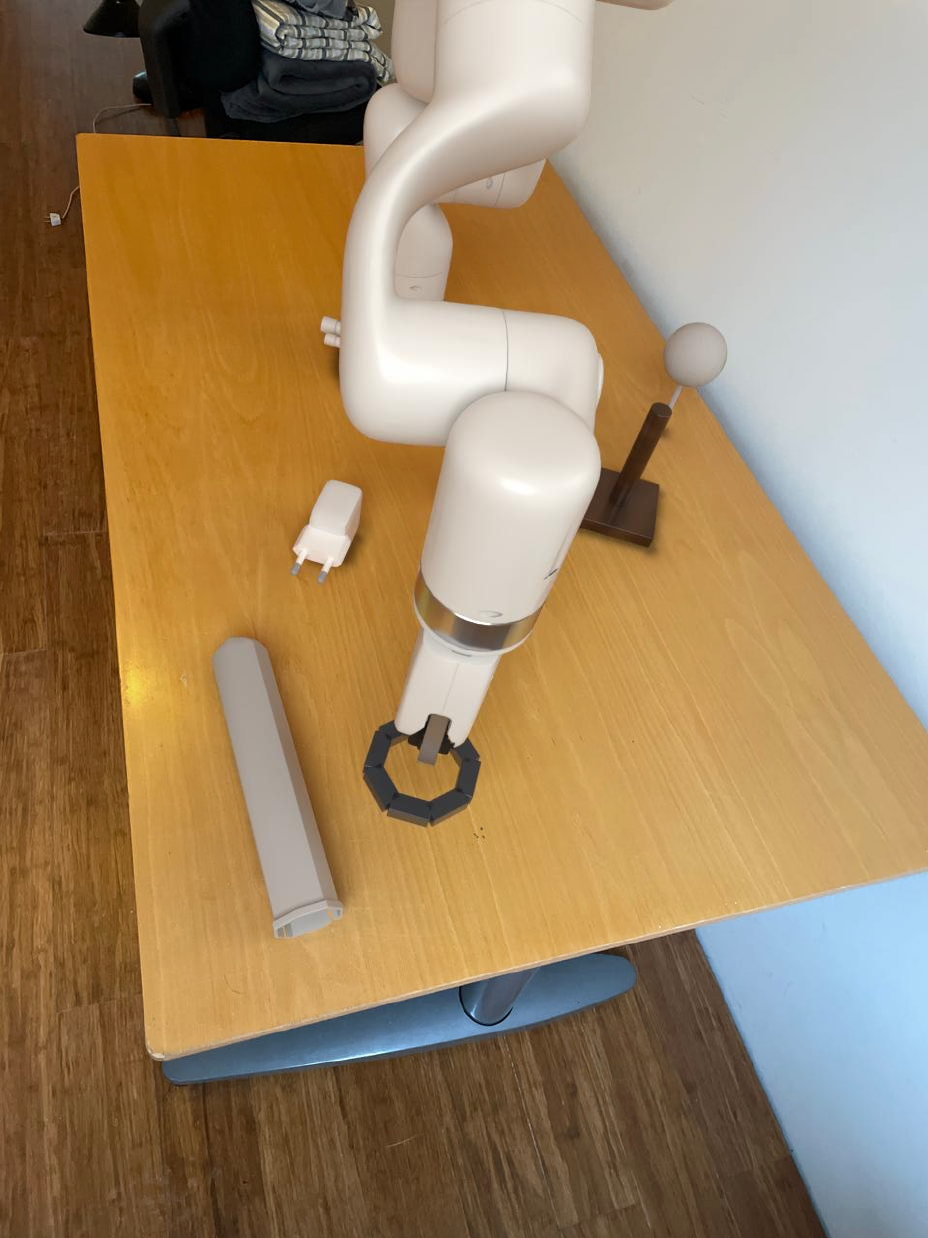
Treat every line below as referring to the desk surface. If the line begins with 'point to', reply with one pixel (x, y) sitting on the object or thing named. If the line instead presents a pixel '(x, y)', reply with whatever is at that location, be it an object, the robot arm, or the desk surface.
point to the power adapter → (329, 527)
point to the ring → (411, 806)
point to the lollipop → (694, 356)
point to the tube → (274, 791)
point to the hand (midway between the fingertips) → (432, 731)
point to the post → (630, 489)
